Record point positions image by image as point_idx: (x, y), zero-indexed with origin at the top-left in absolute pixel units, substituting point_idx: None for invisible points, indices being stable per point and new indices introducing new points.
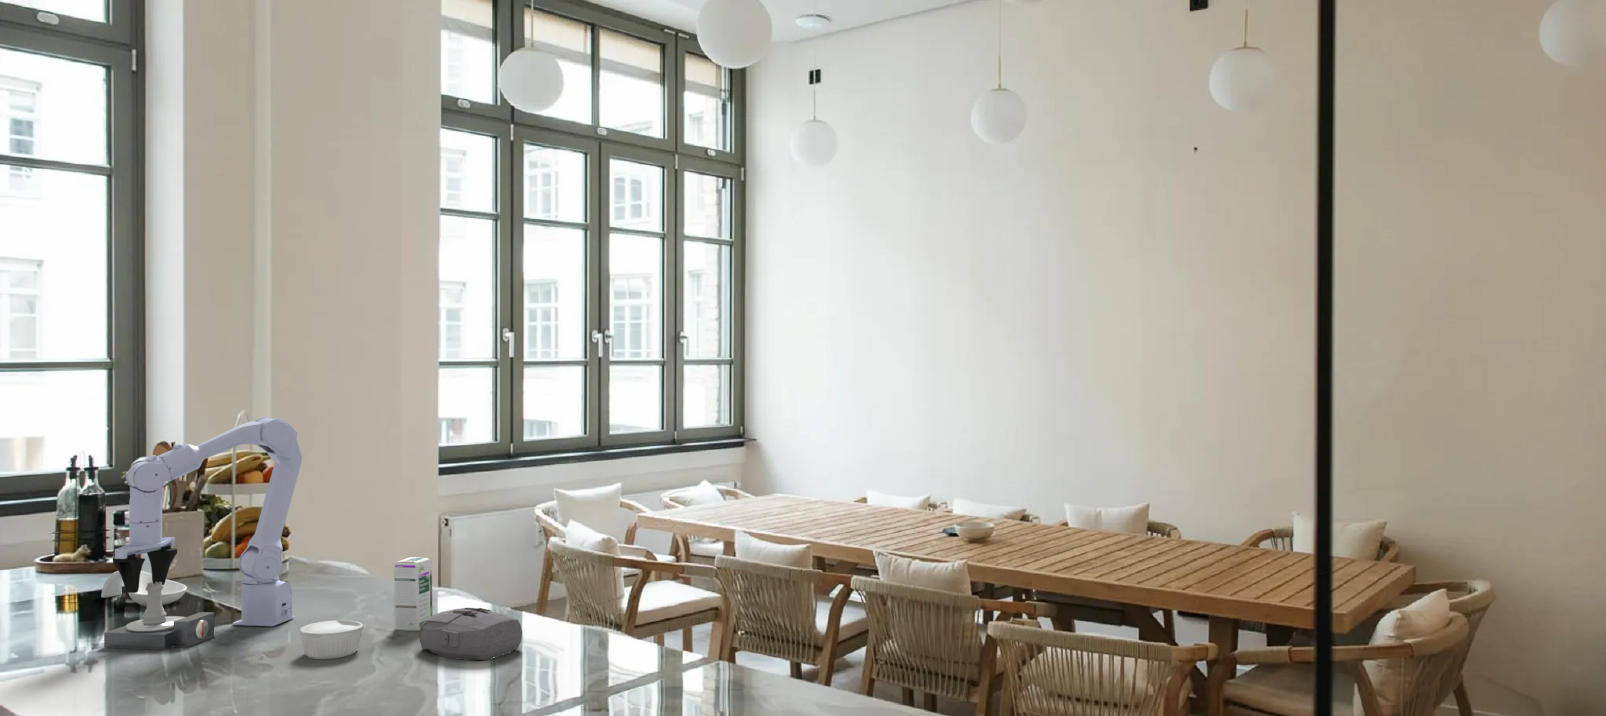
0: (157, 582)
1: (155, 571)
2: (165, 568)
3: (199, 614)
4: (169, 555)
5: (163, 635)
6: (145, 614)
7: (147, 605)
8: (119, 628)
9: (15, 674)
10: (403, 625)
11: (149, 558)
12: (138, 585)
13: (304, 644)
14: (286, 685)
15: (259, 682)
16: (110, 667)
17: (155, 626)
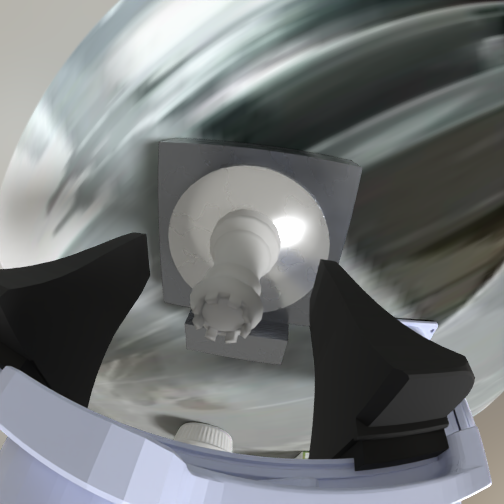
0: (250, 320)
1: (330, 312)
2: (315, 371)
3: (260, 347)
4: (310, 451)
5: (164, 298)
6: (214, 239)
7: (218, 253)
8: (207, 152)
9: (27, 127)
10: (298, 458)
11: (367, 340)
12: (134, 298)
13: (179, 433)
14: (111, 410)
15: (107, 398)
16: (75, 249)
17: (202, 264)
